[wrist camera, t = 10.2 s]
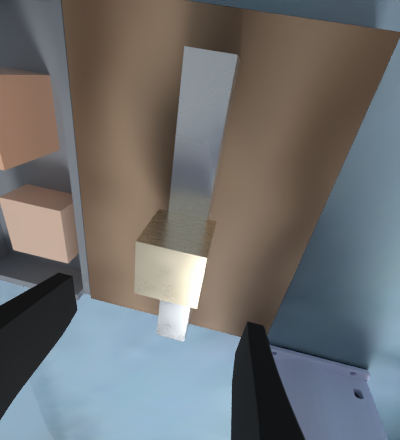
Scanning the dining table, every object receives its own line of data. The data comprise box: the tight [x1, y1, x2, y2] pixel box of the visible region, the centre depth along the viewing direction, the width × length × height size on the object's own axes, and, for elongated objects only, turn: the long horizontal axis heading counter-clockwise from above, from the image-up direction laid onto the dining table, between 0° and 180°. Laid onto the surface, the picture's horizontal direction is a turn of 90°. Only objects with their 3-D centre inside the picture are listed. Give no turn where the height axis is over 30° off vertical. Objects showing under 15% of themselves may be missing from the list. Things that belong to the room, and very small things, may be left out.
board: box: [62, 0, 400, 337], centre depth 17 cm, size 14×20×2 cm
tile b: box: [0, 184, 79, 263], centre depth 19 cm, size 4×4×2 cm
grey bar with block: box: [134, 46, 241, 341], centre depth 13 cm, size 3×17×6 cm, turn 172°
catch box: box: [0, 0, 91, 300], centre depth 17 cm, size 10×20×4 cm, turn 172°
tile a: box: [0, 68, 60, 170], centre depth 15 cm, size 4×4×2 cm
